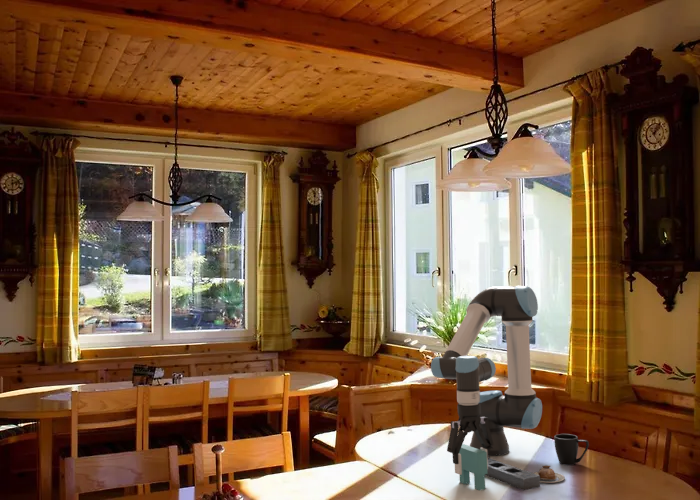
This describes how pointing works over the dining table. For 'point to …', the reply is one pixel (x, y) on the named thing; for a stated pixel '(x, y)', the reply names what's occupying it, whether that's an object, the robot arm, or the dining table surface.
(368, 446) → the dining table surface
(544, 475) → the pastry
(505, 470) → the rail
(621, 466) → the dining table surface
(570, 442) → the mug
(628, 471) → the dining table surface
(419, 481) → the dining table surface
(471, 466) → the clip
